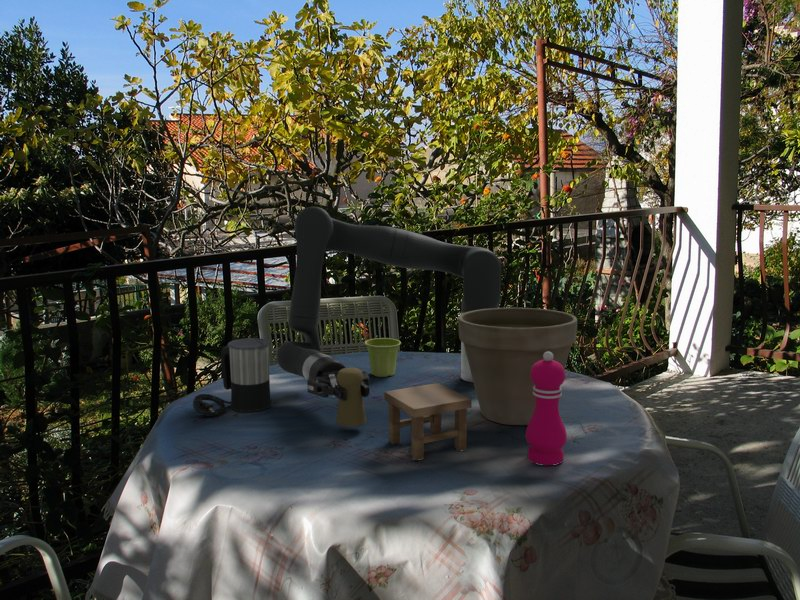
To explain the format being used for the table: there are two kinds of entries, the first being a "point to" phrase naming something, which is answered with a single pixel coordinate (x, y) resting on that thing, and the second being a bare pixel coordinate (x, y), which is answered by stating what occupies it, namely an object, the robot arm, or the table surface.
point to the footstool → (427, 415)
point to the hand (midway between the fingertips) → (356, 393)
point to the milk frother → (242, 378)
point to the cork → (351, 398)
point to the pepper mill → (546, 413)
